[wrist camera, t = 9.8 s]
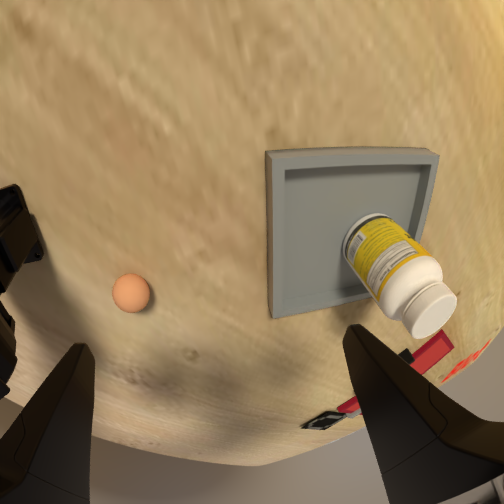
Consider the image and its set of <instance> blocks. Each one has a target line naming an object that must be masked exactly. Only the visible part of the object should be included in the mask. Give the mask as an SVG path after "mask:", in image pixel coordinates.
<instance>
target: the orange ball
mask: <svg viewBox="0 0 504 504" xmlns="http://www.w3.org/2000/svg"><path fill="white" fill-rule="evenodd" d="M112 296H113V300H114V302H115V304H116V305H117V306H118V308H120V309H121V310H123V311H125V312H128V313H135V312H138V311H140V310H142V309H143V308H144V307H145V306H146V305H147V303H148V301H149V298H150V290H149V287H148V284H147V283H146V281H145V280H144V279H143V278H142V277H140V276H138V275H136V274H125V275H123V276H121V277H120V278H118V279H117V280H116V282H115V284H114V286H113V290H112Z"/></svg>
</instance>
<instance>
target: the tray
mask: <svg viewBox="0 0 504 504" xmlns="http://www.w3.org/2000/svg"><path fill="white" fill-rule="evenodd" d="M439 156H440V155H438V154H436V153H434V152H432V151H430V150H428V149H426V148H408V147H323V148H302V149H285V150H272V151H265V168H266V209H267V263H268V306H269V309H270V312H271V315H272V318H273V319H274V318H279V317H285V316H290V315H295V314H300V313H304V312H309V311H314V310H319V309H323V308H328V307H332V306H337V305H341V304H345V303H350V302H354V301H358V300H362V299H366V298H370V297H372V296H371V294H370V293H369V292H368V290H367V289H366V287H365V286H364V285H363V283H362V282H361V280H360V279H359V278H358V276H357V275H356V274H355V272H354V271H353V270H352V268H351V267H350V265H349V264H348V262H347V261H346V259H345V257H344V254H343V243H344V239H345V237H346V235H347V233H348V231H349V230H350V228H351V227H352V226H353V225H354V224H355V223H356V222H357V221H358V220H360V219H361V218H363V217H365V216H367V215H370V214H374V213H381V214H385V215H387V216H389V217H390V218H391V219H393V220H394V221H395V222H396V223H397V224H398V225H399V226H400V227H401V228H403V229H404V230H405V231H406V232H407V233H408V234H409V235H410V236H411V237H412V238H413V239H415V240H416V241H417V242H418V243H420V240H421V236H422V232H423V229H424V225H425V221H426V217H427V213H428V209H429V205H430V201H431V197H432V192H433V188H434V183H435V178H436V173H437V168H438V162H439Z"/></svg>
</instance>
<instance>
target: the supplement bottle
mask: <svg viewBox="0 0 504 504" xmlns="http://www.w3.org/2000/svg"><path fill="white" fill-rule="evenodd" d="M343 254H344V257H345V259H346V261H347V262H348V264H349V265H350V267H351V268H352V270H353V271H354V272H355V274H356V275H357V276H358V278H359V279H360V280H361V282H362V283H363V285H364V286H365V287H366V289H367V290H368V292H369V293H370V294H371V296H372V297H373V299H374V300H375V302H376V303H377V304H378V306H379V307H380V309H381V310H382V311H383V313H384V314H385V315H386V316H387V317H388V318H390V319H392V320H397V321H401V320H402V323H403V324H404V326H405V327H406V329H407V330H408V332H409V333H410V334H411V336H412V337H413V338H415V339H422V338H425V337H427V336H429V335H431V334H433V333H434V332H436V331H437V330H438V329H440V328H441V327H442V326H443V325H444V324H445V323H446V322H447V320H448V319H449V318H450V317H451V315H452V314H453V312H454V310H455V307H456V304H457V298H456V296H455V295H454V294H453V292H452V291H451V290H450V289H449V288H448V286H446V285H445V284H444V283H443V282H442V278H443V275H442V270H441V267H440V265H439V264H438V262H437V261H436V260H435V259H434V258H433V257H432V256H431V255H430V254H429V253H428V252H427V251H426V250H425V249H424V248H423V247H422V246H421V245H420V244H419V243H418V242H417V241H416V240H415V239H413V238H412V237H411V236H410V235H409V234H408V233H407V232H406V231H405V230H404V229H403V228H401V227H400V226H399V225H398V224H397V223H396V222H395V221H394V220H393V219H391V218H390V217H389V216H387V215H385V214H381V213H374V214H370V215H367V216H365V217H363V218H361V219H360V220H358V221H357V222H356V223H355V224H354V225H353V226H352V227H351V228H350V230H349V231H348V233H347V235H346V237H345V239H344V243H343Z"/></svg>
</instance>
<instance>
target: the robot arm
mask: <svg viewBox="0 0 504 504" xmlns="http://www.w3.org/2000/svg"><path fill="white" fill-rule="evenodd" d="M12 189H13V190H14V191H15V193H13V191H12ZM37 253H38V254H39V255H38V254H37ZM43 256H44V252H43V249H42V247H41V245H40V242H39V240H38V237H37V234H36V232H35V229H34V227H33V224H32V221H31V219H30V216H29V213H28V211H27V209H26V206H25V203H24V201H23V198H22V195H21V192H20V189H19V187H18V185H16V184H12V185H9V186H6V187H3V188H1V189H0V295H1V294H2V293H5V292H6V290H7V288H8V286H9V284H10V282H11V281H12V279H13V277H14V275H15V274H16V272H18V271H19V269H20V268H21V266H22V264H24V263H29V262H35V261H40V260H41V259H42V258H43ZM14 332H15V321H14V319H13V318H12V316H10V315H9V314H8V312H7V310H6V309H5V307H4V306H3V304H2V302H1V301H0V399H1V398H3V397H4V396H5V395H7V394H8V393H9V392H10V388H9V387H8V386H7V385H6V384H7V382H8V381H9V379H10V377H11V375H12V373H13V372H14V369H15V366H16V363H17V357H16V355H15V352H16V339H15V336H14ZM343 349H344V353H345V357H346V362H347V366H348V370H349V375H350V379H351V383H352V386H353V389H354V392H355V395H356V397H357V400H358V403H359V406H360V409H361V412H362V415H363V418H364V421H365V424H366V427H367V430H368V433H369V436H370V439H371V443H372V445H373V449H374V452H375V455H376V459H377V462H378V465H379V468H380V471H381V474H382V479H383V482H384V486H385V489H386V493H387V496H388V500H389V503H390V504H504V422H492V421H487V420H483V419H481V418H479V417H477V416H476V415H474V414H473V413H471V412H470V411H468V410H466V409H465V408H464V407H462V406H461V405H459V404H458V403H456V402H455V401H454V400H452V399H451V398H449V397H448V396H447V395H445V394H444V393H443V392H442V391H440V390H439V389H438V388H437V387H435V386H434V385H433V384H432V383H431V382H429V381H428V380H427V379H426V378H425V377H423V376H422V375H421V374H420V373H419V372H417V371H416V370H415V369H414V368H413V367H411V366H410V365H409V364H408V363H407V362H405V361H404V360H403V359H402V358H401V357H399V356H398V355H397V354H396V353H395V352H393V351H392V350H391V349H390V348H389V347H387V346H386V345H385V344H384V343H383V342H381V341H380V340H379V339H378V338H377V337H375V336H374V335H373V334H372V333H370V332H369V331H368V330H367V329H366V328H364V327H363V326H362V325H360V324H354V325H349V326H348V328H347V330H346V333H345V335H344V338H343ZM94 382H95V359H94V356H93V354H92V352H91V351H90V349H89V347H88V345H87V344H86V343H75V344H73V346H72V347H71V348H70V349H69V350H68V352H67V353H66V354H65V355H64V357H63V358H62V359H61V360H60V361H59V363H58V364H57V365H56V367H55V368H54V369H53V370H52V372H51V373H50V374H49V375H48V377H47V378H46V379H45V381H44V382H43V383H42V384H41V386H40V387H39V388H38V390H37V391H36V392H35V394H34V395H33V396H32V398H31V399H30V400H29V402H28V403H27V405H26V406H25V407H24V409H23V410H22V411H21V413H20V414H19V416H18V417H17V418H16V420H15V421H14V422H13V424H12V425H11V427H10V428H9V429H8V430H7V432H6V433H5V434H4V435H3V437H2V438H1V439H0V504H90V501H89V500H90V496H89V495H90V491H89V490H90V487H89V481H90V479H89V477H90V446H91V432H92V419H93V409H94Z"/></svg>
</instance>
